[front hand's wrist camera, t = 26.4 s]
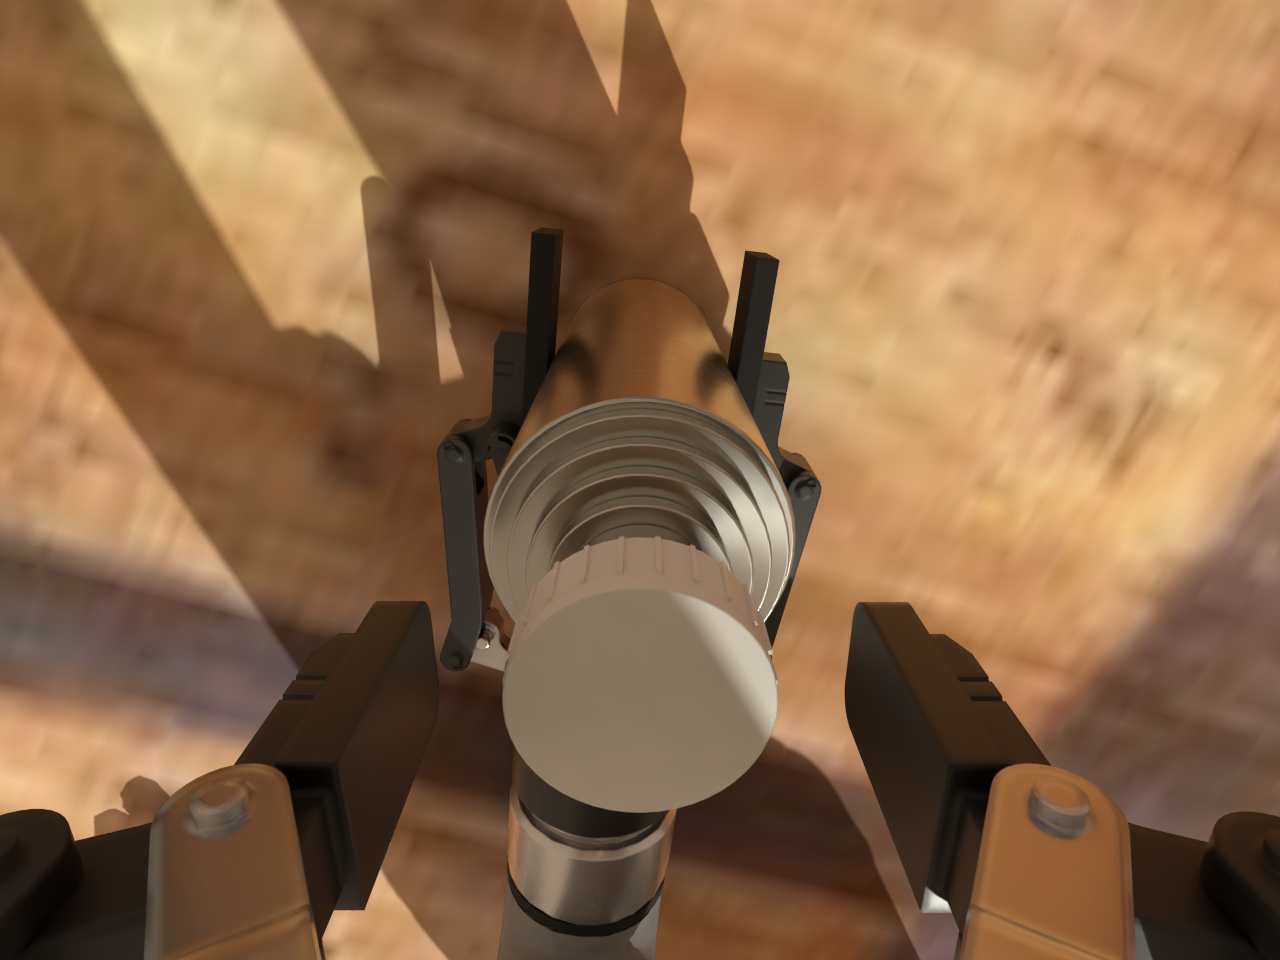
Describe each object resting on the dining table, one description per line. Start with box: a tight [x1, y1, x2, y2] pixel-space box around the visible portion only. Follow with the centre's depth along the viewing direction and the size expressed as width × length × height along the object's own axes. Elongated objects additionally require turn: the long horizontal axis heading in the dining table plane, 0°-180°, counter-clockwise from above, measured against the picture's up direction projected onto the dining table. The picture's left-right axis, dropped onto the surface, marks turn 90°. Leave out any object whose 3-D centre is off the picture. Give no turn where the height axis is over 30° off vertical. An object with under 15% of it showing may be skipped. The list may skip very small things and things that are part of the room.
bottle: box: [483, 279, 796, 623], centre depth 22 cm, size 6×6×23 cm
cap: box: [502, 536, 778, 813], centre depth 12 cm, size 4×4×2 cm
